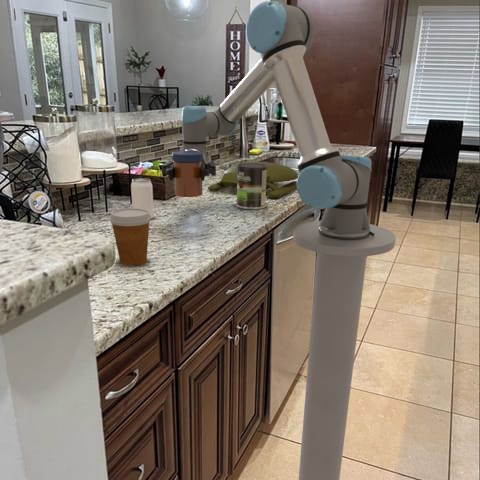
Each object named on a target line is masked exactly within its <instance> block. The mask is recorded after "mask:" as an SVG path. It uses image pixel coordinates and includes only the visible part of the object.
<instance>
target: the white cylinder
mask: <svg viewBox="0 0 480 480" xmlns="http://www.w3.org/2000/svg"><path fill="white" fill-rule="evenodd" d="M130 184H131V185H130V191H131V208H140V209H145V210H147V211H149V215H150V216H151V219H150V220H152V219H153V218H154V216H155V210H154V193H153V184H152V181H151V179H150V178H148V177H147V178H146V177H137V178H132V180H131V183H130Z"/></svg>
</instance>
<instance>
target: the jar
mask: <svg viewBox="0 0 480 480" xmlns="http://www.w3.org/2000/svg"><path fill="white" fill-rule="evenodd" d="M201 168H202V161H199V162H176V161H174V178H173V182H174V183H173V184H174V185H173V187H174V196H177V197H181V198H197V197H201V196H203V181H201Z"/></svg>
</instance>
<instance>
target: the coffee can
mask: <svg viewBox="0 0 480 480" xmlns="http://www.w3.org/2000/svg"><path fill="white" fill-rule="evenodd" d="M236 165H237V168H238V169H237V187H236V207H237V208H239V209H243V210H262V209H264V208H266V196H267V189H266V175H267V165H264V164H258V163H248V162H243V163H239V164H236Z"/></svg>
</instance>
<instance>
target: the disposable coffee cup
mask: <svg viewBox="0 0 480 480" xmlns="http://www.w3.org/2000/svg"><path fill="white" fill-rule="evenodd" d="M108 219H109V221H110V223H111V226H112V231H113V235H114V240H115V244H116V248H117V249H116V250H117V254H118V258H119V263H120V264H121V265H124V266H128V267H129V266H131V267H132V266H133V267H134V266H141V265H143V264H146V263H147V261H148V246H149V233H150V222H151V220H152V219H151V216H150V215H149V211H147V210H145V209H140V208H133V207H127V208H125V207H124V208H119V209H115V210H112V211H111V212H110V216H109V218H108Z"/></svg>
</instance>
